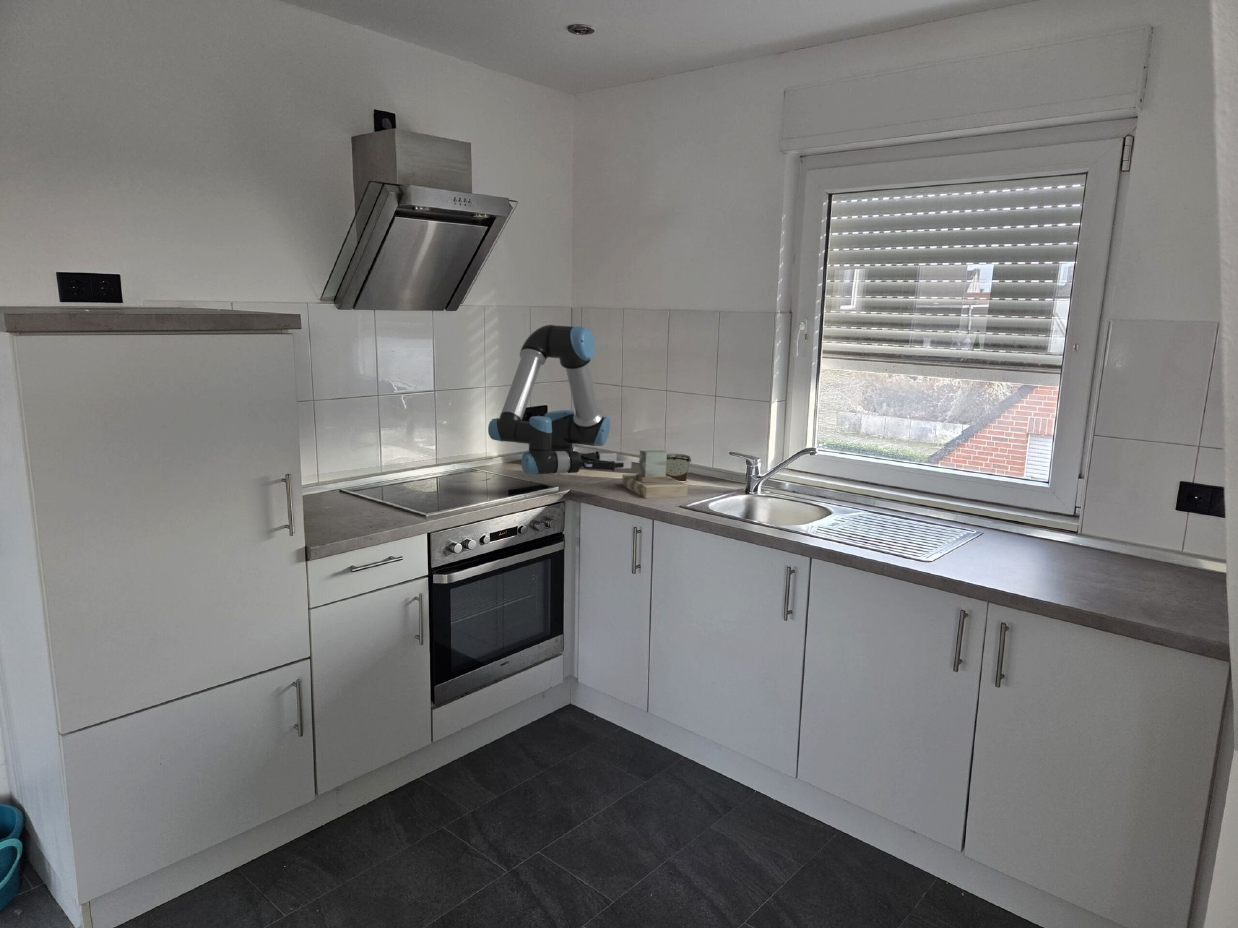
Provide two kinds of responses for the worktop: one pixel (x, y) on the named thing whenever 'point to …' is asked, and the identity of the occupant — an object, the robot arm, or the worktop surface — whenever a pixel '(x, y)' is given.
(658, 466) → the pale green block
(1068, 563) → the worktop surface
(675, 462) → the food container
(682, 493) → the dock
